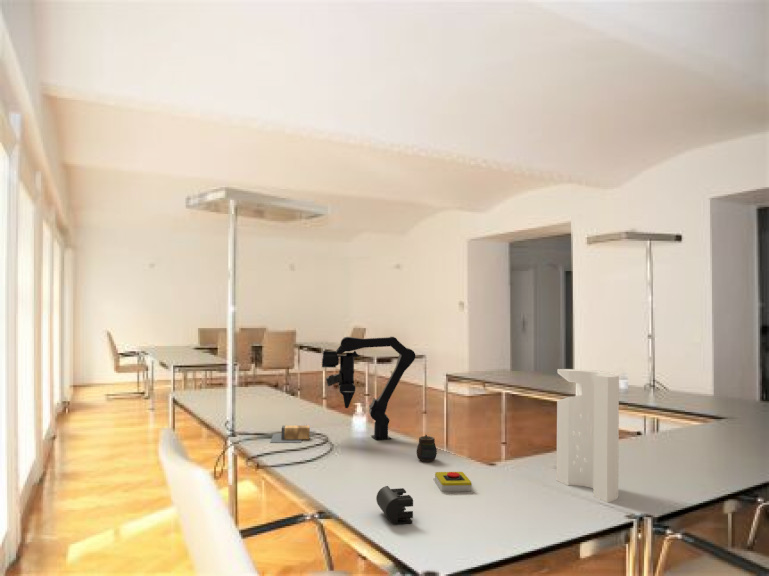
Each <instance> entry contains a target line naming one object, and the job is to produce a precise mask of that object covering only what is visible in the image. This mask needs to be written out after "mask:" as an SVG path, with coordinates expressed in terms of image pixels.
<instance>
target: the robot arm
mask: <svg viewBox="0 0 769 576" xmlns="http://www.w3.org/2000/svg"><path fill="white" fill-rule="evenodd" d="M383 347H391V348H392V349H393V350H394V351H395V352H397V353H398V354H399V355H398V357H397V361H396V365H395V367H394V369H393V371H392V373H391V375H390V376H389V378H388V380H387V382H386V384H385V386H384V388H383V390H382V392H381V393H380V395H379V396H378V398H375V397H373V398H372V401H371V403H370V405H368V407H369V410H368V412H369V416H370V417H371V418H372V420H374V428H373V429H374V430H373V433H374V434H373V435H370V437H371V438H372V439H375V440H376V441H382V440H383V441H384V440H391V439H392V437H391V436H389V425H390V421H391V420H390V418H389V417H388V415H387V414H386V412H387V408H388V404H389V401H390V399H391V397H392V395H393V393H394V392H395V390H396V387H397V386H398V384H399V383H400V380H401V378H402V376H403V374H404V373H405V372H406V371H407V369H408V368H409V367H411V365H412V364H413V363H414V361H415V360H416V353H415V351H414V350H413V349H410V348H409V347H406V346H405V345H404V344H402V343H401V341H399V340H398V339H397V338H396V337H395V336H387V337H373V338H372V337H371V338H370V337H369V338H360V337H353V336H344V337H343V338H342V339H341V340H340V344H339V346H338V347H337V348H336V350H334V351H333V350H330V351H329V350H322V358H321V361H322V362H321V368H330V369H331V368H333V369H334V368H337V367H336V366H338V365H339V370H338V373H335V374H331V375H328V376H327V377H325V381H326V384H327V386H328V387H331V386H332V385H334V384H338V388H339V393H340V394H341V395H342V397H343V398H342V399H343V403H344V409H348V408H350V404H351V402H352V399H353V396H354V395H355V393H356V385H355V380H354V379H355V358H359V357H360V355H359V354H358V353H357V351H358V350H360V349H367V348H383ZM356 350H357V351H356ZM344 353H345V354H344Z"/></svg>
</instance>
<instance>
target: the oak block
mask: <svg viewBox="0 0 769 576" xmlns="http://www.w3.org/2000/svg"><path fill="white" fill-rule="evenodd" d="M310 426H311V425H282V426H281V434H282V435H281V439H302V440H310V433H311V432H310V430H311V429H310V428H311V427H310Z"/></svg>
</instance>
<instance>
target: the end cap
mask: <svg viewBox="0 0 769 576" xmlns="http://www.w3.org/2000/svg"><path fill="white" fill-rule="evenodd" d="M404 494H405V495H404ZM413 499H414V498H413V497H412V496H411V495H410V494H407V491H406V489H405V488H401V487H399V488H390V486H389V485H385V486H383V487H381V488H380V489H379V490H378V491H377V494H376V499H375V500H376V503H377V506H378V507H379V508H380V510H381V511H382V512H383V514H384V516H385V517H386V518H387V519H388V521H390V522H391V524H393V525H396V526H402V525H412V524H413V520H412V519H414V511H413V510H408V511H407V508H408V507H409V508H410V507H414V500H413ZM406 507H407V508H406Z"/></svg>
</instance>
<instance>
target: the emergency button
mask: <svg viewBox="0 0 769 576" xmlns="http://www.w3.org/2000/svg"><path fill="white" fill-rule="evenodd" d="M433 481H434V483H435V484H436V486H437V488H438V489H439V491H440V492H441V494H443V495H472V494H474V492H473V488H472V487H473V486H472V484H473V483H472V481H471V479H470V478H469V477H468V476H467V475H466V474H465V472H463V471H436V472H435V473H434V478H433Z"/></svg>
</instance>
